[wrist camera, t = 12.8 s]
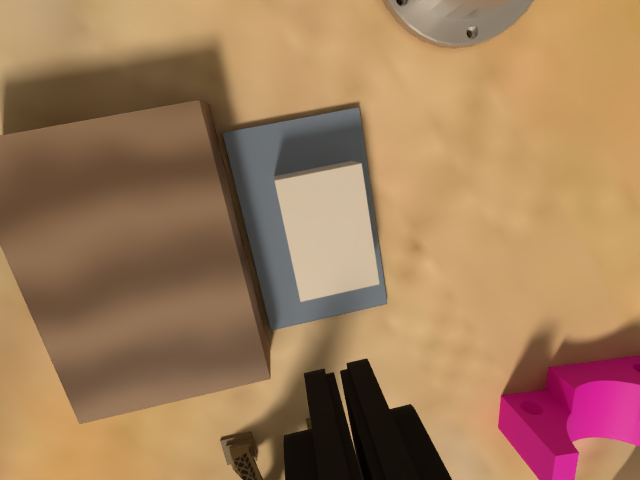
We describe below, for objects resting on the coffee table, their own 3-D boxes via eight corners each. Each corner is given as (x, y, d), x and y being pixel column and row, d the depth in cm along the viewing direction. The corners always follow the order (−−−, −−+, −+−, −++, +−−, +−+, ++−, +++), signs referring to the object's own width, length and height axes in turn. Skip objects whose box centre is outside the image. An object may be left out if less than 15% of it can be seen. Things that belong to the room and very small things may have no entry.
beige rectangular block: (361, 163, 26) (352, 160, 29) (274, 180, 25) (273, 176, 28) (379, 284, 28) (369, 270, 31) (300, 301, 28) (297, 286, 31)
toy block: (642, 353, 38) (729, 404, 31) (631, 406, 40) (711, 466, 33) (501, 371, 36) (559, 429, 29) (496, 425, 38) (549, 493, 31)
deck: (2, 142, 26) (-45, 143, 22) (208, 104, 27) (198, 99, 23) (102, 388, 31) (79, 424, 27) (270, 350, 32) (270, 378, 28)
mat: (223, 132, 27) (222, 132, 27) (357, 107, 28) (359, 107, 28) (271, 328, 32) (271, 330, 31) (386, 301, 33) (387, 304, 32)
